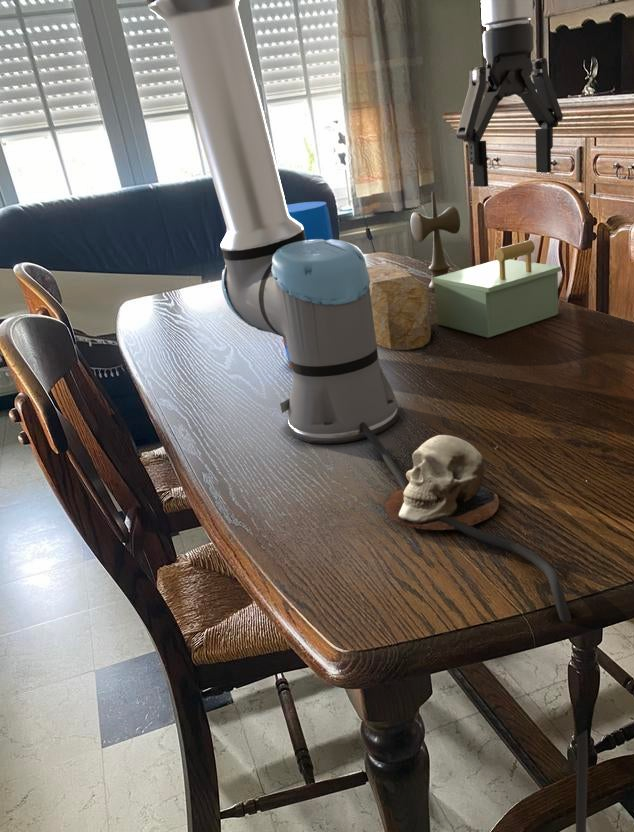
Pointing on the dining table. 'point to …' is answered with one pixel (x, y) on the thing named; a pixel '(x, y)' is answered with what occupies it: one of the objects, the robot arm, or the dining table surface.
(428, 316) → the bread
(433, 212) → the kendama
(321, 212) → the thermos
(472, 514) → the skull
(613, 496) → the dining table surface
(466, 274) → the chest lid
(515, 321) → the chest
